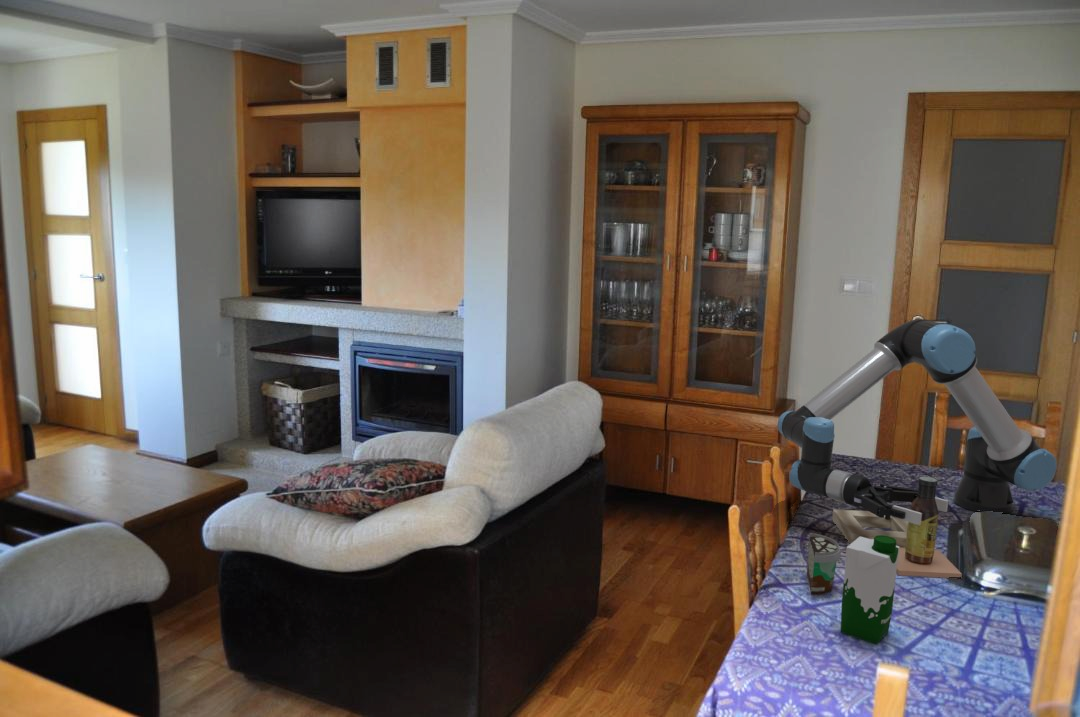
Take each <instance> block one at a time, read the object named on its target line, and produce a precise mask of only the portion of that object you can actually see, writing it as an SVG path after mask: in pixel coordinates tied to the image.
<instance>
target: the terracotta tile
mask: <svg viewBox="0 0 1080 717" xmlns="http://www.w3.org/2000/svg"><path fill="white" fill-rule="evenodd" d="M905 552H906V551H905V548H901V547H900V549H899V556H898V563H897V571H896V575H898V576H899V577H901V576H903V577H918V578H920V577H921V578H922V577H923V578H938V577H940V578H941V579H942V578H943V579H950V578H949V577H961V578H962V576H963V573H962V572H961V571H960V570H959V569H958V568H957V567H956V566H955V565H954V564H953V563H952V562H951V561H950V560H949V559H948V558H947V557H946V556H945V555H944V554H943V553H942V552H941V550H940V549H936V548H935V550H934V556H933V560H932V562H931V563H926V564H920V563H916V562H912V561H910V560H908V559H907V558H906V557H905Z"/></svg>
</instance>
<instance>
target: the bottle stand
mask: <svg viewBox="0 0 1080 717" xmlns="http://www.w3.org/2000/svg"><path fill="white" fill-rule="evenodd" d="M831 521H832V522H833V523H834V525H835V524H836V525H835V526H836V527H837V529H838V528H839V529H838V530H839V532H840V533H841V532H842V533H841V535H844V536H845V537H844V536H843V537H844V538H845V540H846V539H847V540H848V541H847V540H846V541H847V543H848V544H849V543H850V544H851V543H852V542H854V541H855V540H856V539H857V538H858V537H864V538H868V539H874V537H875V536H878V535H883V536H889V537H892V538H894V539H895V540H896V546H899V547H901V548H905V547H906V538H907V530H908V522H907V521H904V520H900V519H897V518H894V517H892V516H890V520H886V519H885V515H884V518H880V517H878V516H876V515H875V514H873V513H871V512H869V511H868V510H850V509H832V518H831ZM864 528H878V529H890V530H875V529H864ZM850 544H849V545H850Z"/></svg>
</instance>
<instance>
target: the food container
mask: <svg viewBox="0 0 1080 717" xmlns="http://www.w3.org/2000/svg"><path fill="white" fill-rule="evenodd" d="M841 557H842V555H841V548H840V545H839V543H838V542H837V541H836V540H835V539H833V538H831V537H828V536H825V535H823V534H819V533H818V534H817V533H811V532H810V533H809V535H808V552H807V564H806V579H807V583H808V584H809V585H808V584H807V585H808V588H810V589H809V593H810V595H815V594H817V595H825V593H826V594H829V593H830V592H832V590H833V586H834V580H835V575H836V570H837V568H836V567H837V562H838V560H840V559H841ZM828 592H829V593H828Z"/></svg>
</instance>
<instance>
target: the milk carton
mask: <svg viewBox="0 0 1080 717" xmlns="http://www.w3.org/2000/svg"><path fill="white" fill-rule="evenodd" d="M899 549H900V547H899V546H896V540H895V539H894V538H892V537H889V536H883V535H878V536H875V537H874V539H868V538H864V537H858V538H857V539H856V540H855V541H854V542H852V543H851V544H848V545H847V546H846V551H845V552H846V553H845V564H844V565H845V566H844V576H843V585H842V586H843V587H842V596H841V597H842V598H841V599H842V600H841V607H840V608H841V611H840V614H841V615H840V618H841V619H840V633H842V634H845V635H849V636H851V637H854V638H856V639H860V640H863V641H865V642H869V643H871V644H875V645H878V644H879V642H880V641H882V639H883V638H884V636H886V635H887V633H888V632H889V631H890V630H889V629H890V624H891V620H892V616H893V615H892V614H893V606H894V599H895V598H894V597H895V588H896V580H897V573H896V571H897V563H898V556H899Z"/></svg>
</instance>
